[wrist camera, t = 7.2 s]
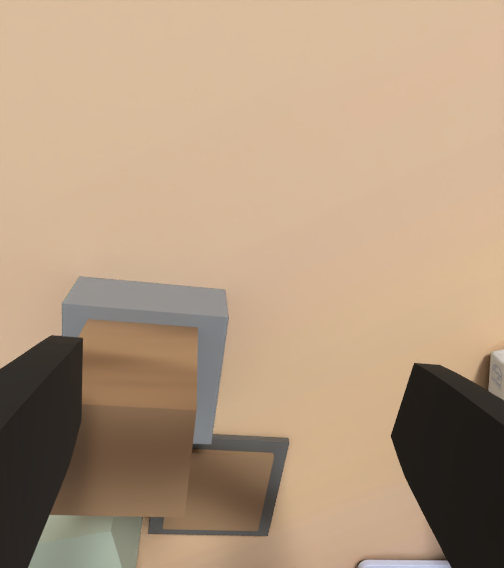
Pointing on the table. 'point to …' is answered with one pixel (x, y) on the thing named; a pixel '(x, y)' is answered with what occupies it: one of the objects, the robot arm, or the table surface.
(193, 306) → the base block
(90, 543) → the sage block
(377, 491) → the table surface
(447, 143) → the table surface
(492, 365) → the light bulb box
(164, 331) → the walnut block
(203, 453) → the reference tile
